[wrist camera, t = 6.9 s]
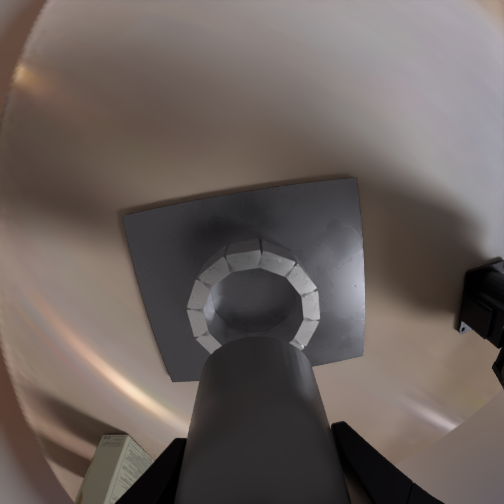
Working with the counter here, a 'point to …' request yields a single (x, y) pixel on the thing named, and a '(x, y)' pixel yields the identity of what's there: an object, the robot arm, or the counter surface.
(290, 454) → the plug
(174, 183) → the counter surface
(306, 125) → the counter surface
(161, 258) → the barrel stand
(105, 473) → the skincare box
